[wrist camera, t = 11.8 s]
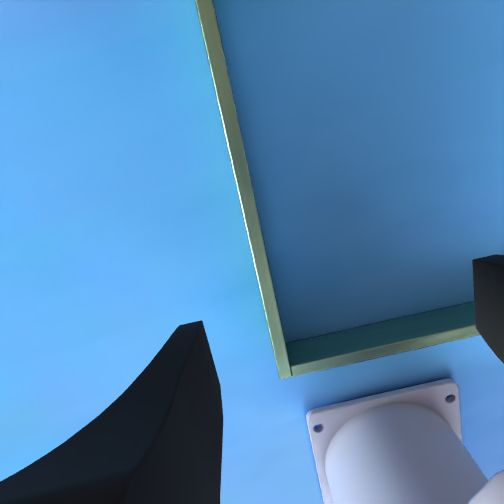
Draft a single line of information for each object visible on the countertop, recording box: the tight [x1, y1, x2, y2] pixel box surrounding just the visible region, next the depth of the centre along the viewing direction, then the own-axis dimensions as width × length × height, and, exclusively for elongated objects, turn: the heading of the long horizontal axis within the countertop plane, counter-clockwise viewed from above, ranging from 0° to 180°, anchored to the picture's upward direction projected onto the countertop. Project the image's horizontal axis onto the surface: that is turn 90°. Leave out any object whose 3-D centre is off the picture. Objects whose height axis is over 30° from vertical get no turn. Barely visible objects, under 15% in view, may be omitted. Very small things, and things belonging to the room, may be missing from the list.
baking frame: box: [195, 0, 480, 379], centre depth 19 cm, size 17×20×2 cm
